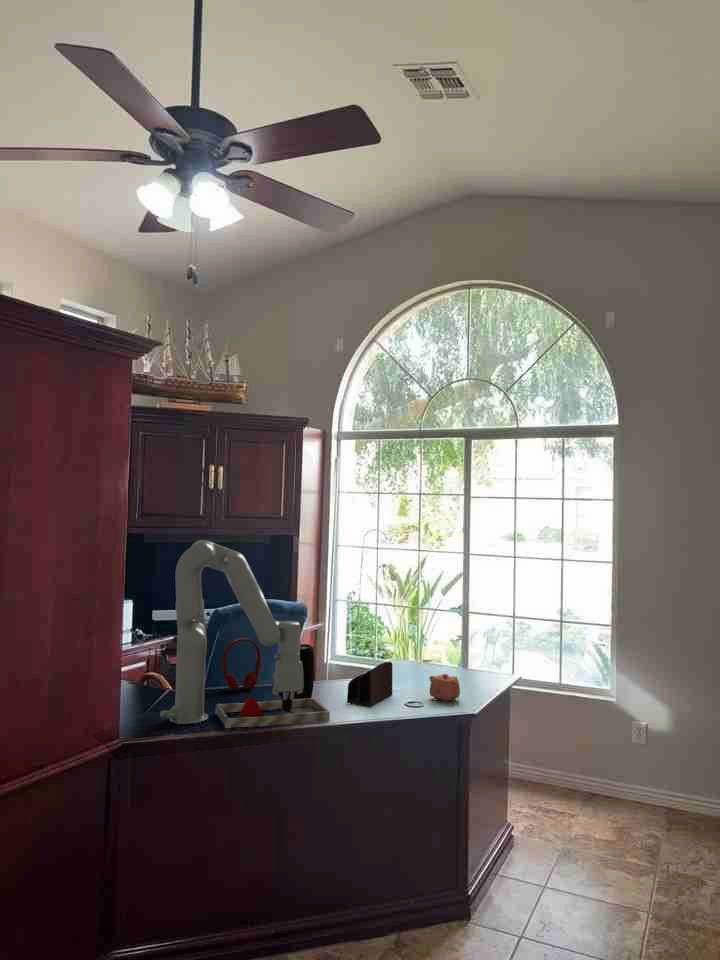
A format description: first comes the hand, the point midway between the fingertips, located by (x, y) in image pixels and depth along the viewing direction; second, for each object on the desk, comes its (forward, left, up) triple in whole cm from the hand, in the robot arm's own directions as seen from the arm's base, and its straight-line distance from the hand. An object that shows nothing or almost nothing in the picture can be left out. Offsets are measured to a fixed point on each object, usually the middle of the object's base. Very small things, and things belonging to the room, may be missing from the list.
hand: (286, 710), depth 257 cm
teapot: (+63, -10, -2) cm, 64 cm away
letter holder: (+38, +3, -2) cm, 39 cm away
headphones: (+2, +39, -2) cm, 39 cm away
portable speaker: (+17, +18, -2) cm, 24 cm away
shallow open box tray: (-5, +2, -2) cm, 5 cm away
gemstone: (-14, +1, -2) cm, 14 cm away
